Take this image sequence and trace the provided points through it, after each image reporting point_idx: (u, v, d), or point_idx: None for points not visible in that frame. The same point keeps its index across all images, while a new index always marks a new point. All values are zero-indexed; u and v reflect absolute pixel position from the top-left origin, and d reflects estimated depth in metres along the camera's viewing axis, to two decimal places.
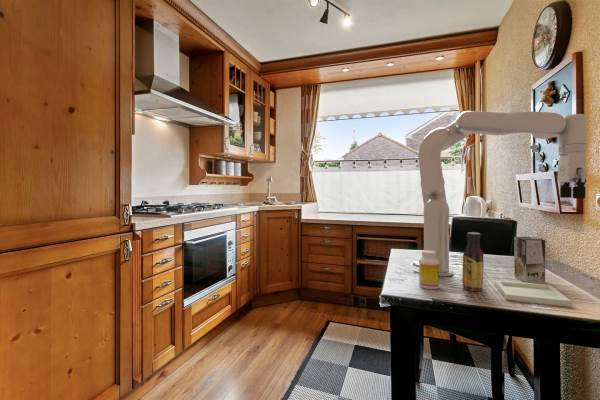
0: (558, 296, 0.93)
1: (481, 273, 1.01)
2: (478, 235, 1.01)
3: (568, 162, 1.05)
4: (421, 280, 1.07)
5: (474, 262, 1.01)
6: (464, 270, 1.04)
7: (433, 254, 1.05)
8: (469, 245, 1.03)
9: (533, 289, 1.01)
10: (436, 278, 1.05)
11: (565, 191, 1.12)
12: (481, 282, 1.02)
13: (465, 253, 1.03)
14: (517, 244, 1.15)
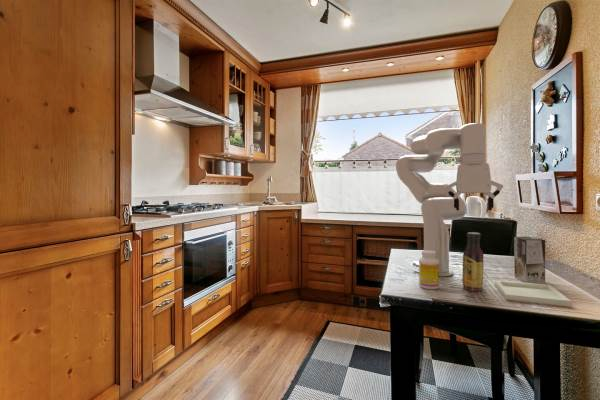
0: (558, 296, 0.93)
1: (481, 273, 1.01)
2: (478, 235, 1.01)
3: (487, 172, 0.99)
4: (421, 280, 1.07)
5: (474, 262, 1.01)
6: (464, 270, 1.04)
7: (433, 254, 1.05)
8: (469, 245, 1.03)
9: (533, 289, 1.01)
10: (436, 278, 1.05)
11: (458, 203, 1.05)
12: (481, 282, 1.02)
13: (465, 253, 1.03)
14: (517, 244, 1.15)
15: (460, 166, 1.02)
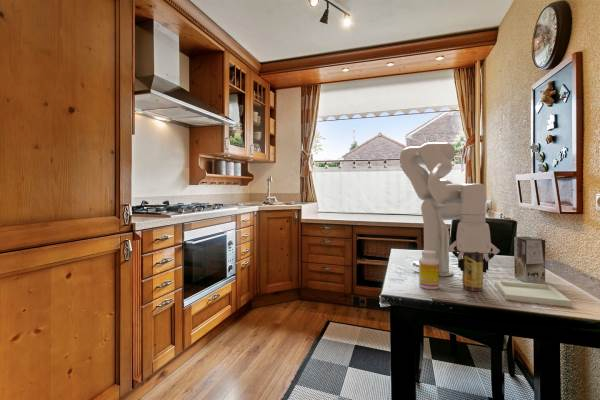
0: (558, 296, 0.93)
1: (481, 273, 1.01)
2: None
3: (487, 234, 1.00)
4: (421, 280, 1.07)
5: (474, 262, 1.01)
6: (464, 270, 1.04)
7: (433, 254, 1.05)
8: None
9: (533, 289, 1.01)
10: (436, 278, 1.05)
11: (462, 263, 1.05)
12: (481, 282, 1.02)
13: (465, 253, 1.03)
14: (517, 244, 1.15)
15: (460, 225, 1.03)
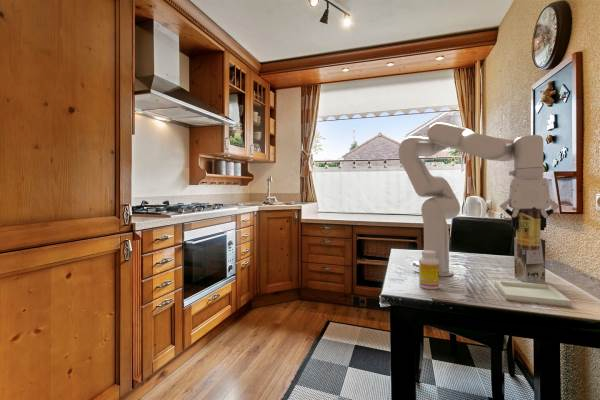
0: (558, 296, 0.93)
1: (539, 231, 0.95)
2: None
3: (546, 188, 0.93)
4: (421, 280, 1.07)
5: (532, 219, 0.94)
6: (519, 228, 0.97)
7: (433, 254, 1.05)
8: None
9: (533, 289, 1.01)
10: (436, 278, 1.05)
11: None
12: (539, 240, 0.95)
13: (520, 210, 0.97)
14: None
15: (515, 180, 0.97)
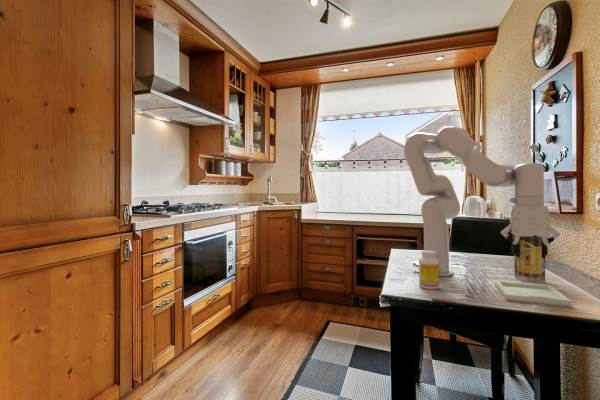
0: (558, 296, 0.93)
1: (540, 258, 0.95)
2: None
3: (547, 216, 0.93)
4: (421, 280, 1.07)
5: (533, 247, 0.94)
6: (520, 256, 0.97)
7: (433, 254, 1.05)
8: None
9: (533, 289, 1.01)
10: (436, 278, 1.05)
11: None
12: (540, 268, 0.95)
13: (521, 237, 0.97)
14: None
15: (516, 208, 0.97)
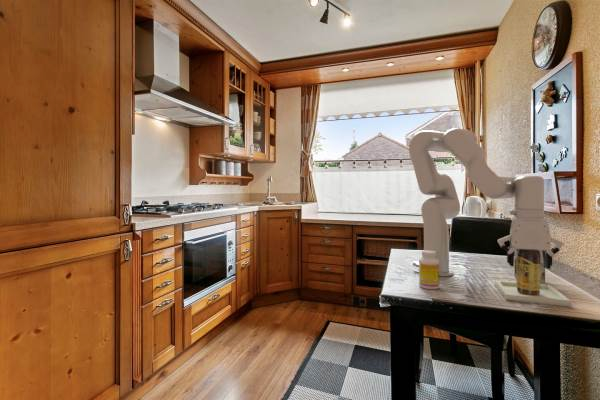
0: (558, 296, 0.93)
1: (539, 275, 0.95)
2: None
3: (546, 229, 0.94)
4: (421, 280, 1.07)
5: (532, 264, 0.95)
6: (519, 272, 0.98)
7: (433, 254, 1.05)
8: None
9: None
10: (436, 278, 1.05)
11: None
12: (539, 285, 0.95)
13: (520, 254, 0.97)
14: None
15: (516, 220, 0.97)
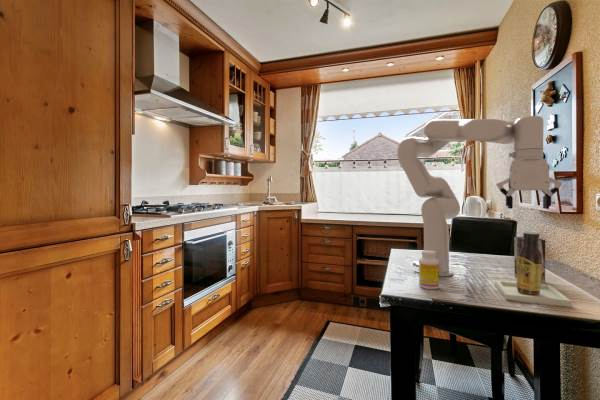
0: (558, 296, 0.93)
1: (539, 276, 0.95)
2: (537, 235, 0.95)
3: (545, 168, 0.93)
4: (421, 280, 1.07)
5: (533, 264, 0.95)
6: (520, 272, 0.97)
7: (433, 254, 1.05)
8: (527, 246, 0.96)
9: None
10: (436, 278, 1.05)
11: None
12: (539, 285, 0.95)
13: (521, 254, 0.97)
14: (517, 244, 1.15)
15: (515, 162, 0.97)
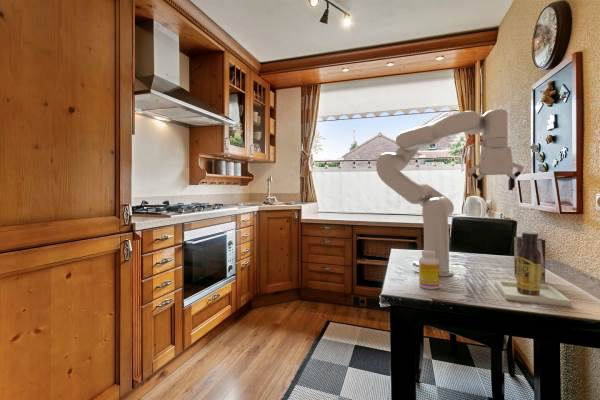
0: (558, 296, 0.93)
1: (539, 275, 0.95)
2: (536, 235, 0.95)
3: (509, 155, 1.08)
4: (421, 280, 1.07)
5: (532, 264, 0.95)
6: (519, 272, 0.98)
7: (433, 254, 1.05)
8: (526, 246, 0.97)
9: None
10: (436, 278, 1.05)
11: (481, 184, 1.13)
12: (539, 285, 0.95)
13: (521, 254, 0.97)
14: (517, 244, 1.15)
15: (483, 149, 1.11)
